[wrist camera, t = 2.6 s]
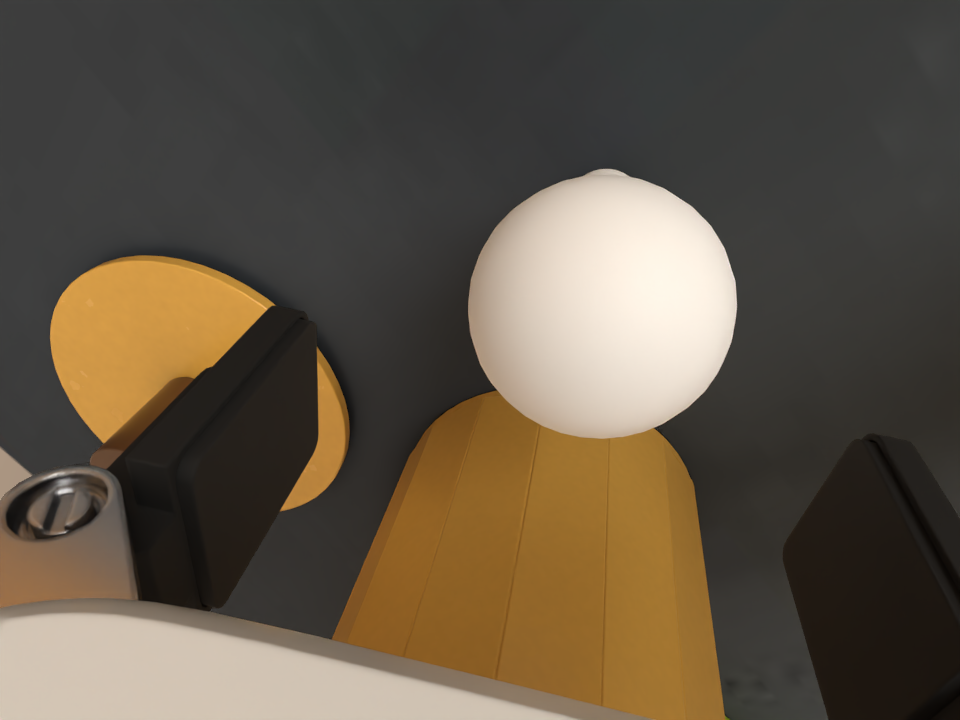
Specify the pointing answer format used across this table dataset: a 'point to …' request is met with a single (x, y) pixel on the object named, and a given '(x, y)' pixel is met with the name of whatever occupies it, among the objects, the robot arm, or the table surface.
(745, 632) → the table surface
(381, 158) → the table surface
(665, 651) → the tin
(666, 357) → the lightbulb
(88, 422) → the tin lid
